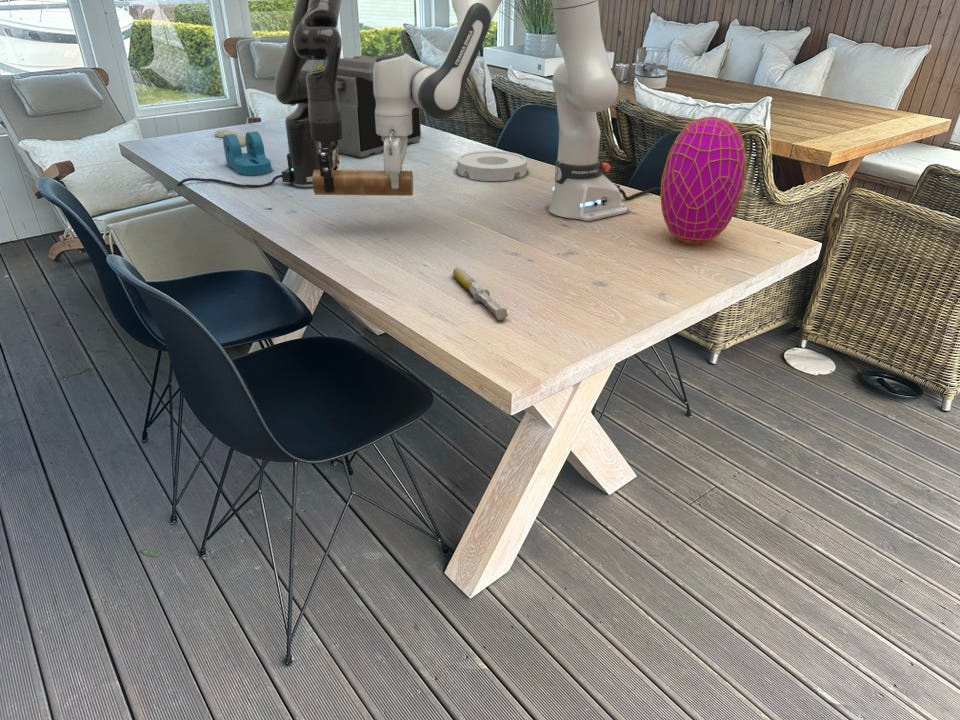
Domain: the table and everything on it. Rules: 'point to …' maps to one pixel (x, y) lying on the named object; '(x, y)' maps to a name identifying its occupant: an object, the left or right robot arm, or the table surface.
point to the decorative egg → (703, 179)
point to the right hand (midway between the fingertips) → (396, 183)
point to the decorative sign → (226, 132)
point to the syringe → (479, 293)
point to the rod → (364, 183)
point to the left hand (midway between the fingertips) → (332, 187)
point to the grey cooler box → (362, 108)
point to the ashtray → (492, 165)
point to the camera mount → (246, 154)
